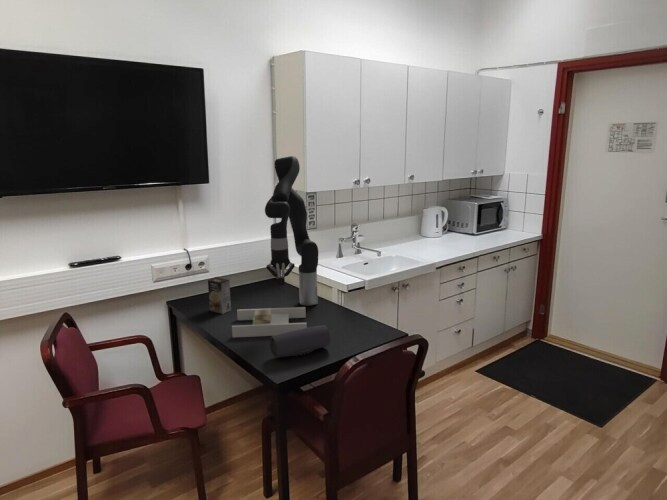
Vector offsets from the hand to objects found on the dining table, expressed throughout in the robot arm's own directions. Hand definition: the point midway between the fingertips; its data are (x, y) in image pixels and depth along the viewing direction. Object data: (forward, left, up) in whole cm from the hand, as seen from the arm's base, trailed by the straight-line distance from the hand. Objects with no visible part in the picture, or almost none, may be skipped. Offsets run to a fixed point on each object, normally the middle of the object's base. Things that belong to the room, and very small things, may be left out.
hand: (281, 284), depth 207 cm
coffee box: (+31, -23, -20) cm, 44 cm away
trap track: (+6, 0, -20) cm, 21 cm away
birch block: (+9, 0, -17) cm, 19 cm away
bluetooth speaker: (-8, +28, -20) cm, 35 cm away
